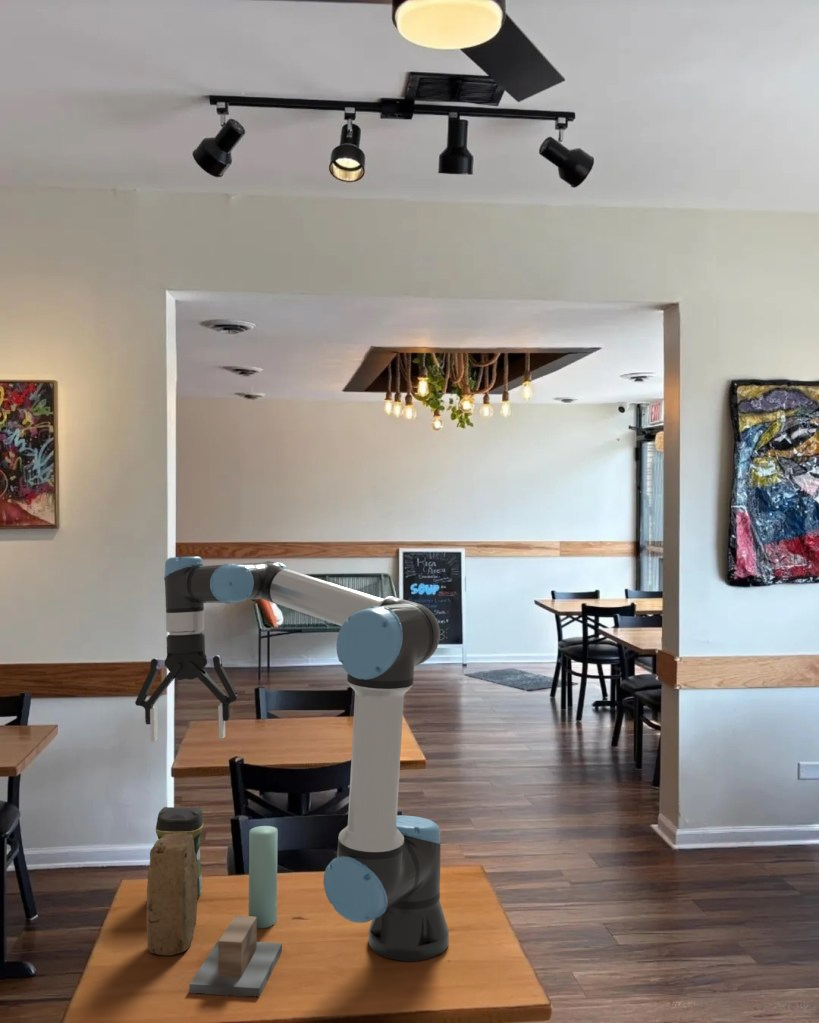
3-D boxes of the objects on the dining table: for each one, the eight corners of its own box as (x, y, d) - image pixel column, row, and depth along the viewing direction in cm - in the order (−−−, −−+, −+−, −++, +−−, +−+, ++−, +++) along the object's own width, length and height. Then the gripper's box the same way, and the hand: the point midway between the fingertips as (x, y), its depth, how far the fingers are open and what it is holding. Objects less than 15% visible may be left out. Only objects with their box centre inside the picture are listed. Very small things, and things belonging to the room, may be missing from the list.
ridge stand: (218, 947, 167) (218, 907, 167) (281, 951, 166) (282, 910, 166) (189, 993, 151) (189, 948, 151) (259, 997, 150) (259, 952, 150)
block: (182, 959, 162) (183, 848, 162) (142, 957, 163) (143, 847, 163) (201, 932, 173) (202, 828, 173) (163, 930, 174) (164, 826, 174)
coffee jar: (150, 904, 185) (151, 814, 185) (160, 888, 193) (161, 802, 193) (198, 904, 185) (199, 814, 186) (205, 888, 193) (206, 802, 194)
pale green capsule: (281, 917, 180) (282, 827, 180) (269, 929, 174) (270, 836, 174) (255, 914, 181) (256, 824, 181) (243, 926, 176) (244, 833, 176)
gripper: (250, 628, 186) (253, 732, 185) (129, 634, 185) (131, 738, 184) (244, 631, 178) (247, 739, 177) (117, 637, 178) (120, 745, 177)
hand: (188, 739), depth 181 cm, fingers open, 13 cm apart
